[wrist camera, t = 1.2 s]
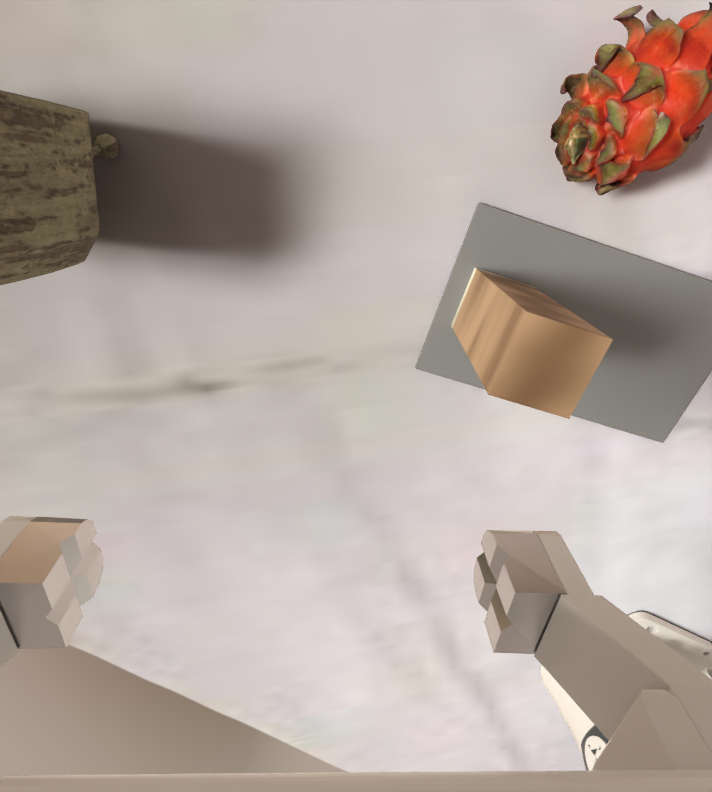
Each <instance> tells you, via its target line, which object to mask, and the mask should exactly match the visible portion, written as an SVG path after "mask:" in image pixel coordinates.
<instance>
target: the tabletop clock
mask: <svg viewBox="0 0 712 792" xmlns="http://www.w3.org/2000/svg"><path fill="white" fill-rule="evenodd" d="M119 150H120V148H119V144H118V141H117V140H116V139H115V138H114V137H113V136H111V135H109V134H101V135H98V136H97V138H96V140H95V146H93V147H92V145H91V135H90V125H89V115H88V113H87V112H85V111H82V110H79V109H75V108H72V107H68V106H64V105H60V104H56V103H52V102H48V101H44V100H40V99H35V98H31V97H27V96H22V95H18V94H14V93H9V92H5V91H1V90H0V285H3V284H8V283H13V282H17V281H21V280H25V279H29V278H32V277H36V276H40V275H44V274H48V273H52V272H55V271H58V270H61V269H64V268H67V267H70V266H73V265H76V264H79V263H81V262H83V261H85V259H86V258H87V256H88V254H89V252H90V250H91V248H92V246H93V244H94V242H95V240H96V238H97V236H98V234H99V232H100V225H99V215H98V205H97V195H96V185H95V175H94V165H93V158H94V157H95V156H97V155H99V154H100V155H101V156H103V157H105V158H108V159H110V158H115V157H117V155H118V153H119Z"/></svg>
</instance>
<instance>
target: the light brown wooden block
mask: <svg viewBox="0 0 712 792" xmlns="http://www.w3.org/2000/svg"><path fill="white" fill-rule="evenodd" d="M451 326H452V328H453V330H454V332H455V334H456V336H457V337H458V339H459V341H460V343H461V345H462V347H463V349H464V350H465V352H466V354H467V356H468V358H469V360H470V361H471V363H472V365H473V367H474V369H475V371H476V373H477V374H478V376H479V378H480V380H481V382H482V384H483V385H484V387H485V389H486V391H487V393H488V395H491V396H495V397H498V398H501V399H505V400H508V401H511V402H515V403H518V404H521V405H525V406H528V407H531V408H535V409H538V410H541V411H545V412H548V413H551V414H555V415H558V416H562V417H565V418H568V419H569V418H570V416H571V414H572V412H573V411H574V409H575V407H576V405H577V403H578V402H579V400H580V398H581V396H582V394H583V393H584V391H585V389H586V387H587V386H588V384H589V382H590V380H591V378H592V377H593V375H594V373H595V371H596V369H597V368H598V366H599V364H600V362H601V360H602V359H603V357H604V355H605V353H606V351H607V350H608V348H609V346H610V344H611V342H612V341H613V339H612V338H610V337H609V336H607V335H606V334H604V333H603V332H601V331H600V330H598V329H597V328H595V327H594V326H592V325H591V324H589V323H588V322H586V321H585V320H583V319H581V318H580V317H578V316H577V315H575V314H574V313H572V312H571V311H569V310H568V309H566V308H565V307H563V306H562V305H560V304H559V303H557V302H556V301H554V300H553V299H551V298H550V297H548V296H547V295H545V294H544V293H542V292H541V291H539V290H538V289H536V288H535V287H533V286H531V285H527V284H524V283H521V282H518V281H515V280H512V279H509V278H506V277H503V276H500V275H497V274H494V273H491V272H488V271H484V270H481V269H478V268H474V270H473V273H472V275H471V278H470V280H469V283H468V285H467V288H466V290H465V293H464V295H463V298H462V300H461V302H460V305H459V307H458V310H457V312H456V315H455V317H454V320H453V322H452V325H451Z"/></svg>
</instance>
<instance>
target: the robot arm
mask: <svg viewBox="0 0 712 792" xmlns="http://www.w3.org/2000/svg"><path fill="white" fill-rule="evenodd" d="M95 535H96V530H95V527H94V524H93V521H91V520H87V519H70V518H51V517H22V516H10V517H8V518H6V519H4V520H3V521H2V522H1V523H0V668H1V667H2V666H3V665H4V664H5V663H6V662H8V661H9V660H10V659H11V658H12V657H13V656H14V655H16V654H17V653H18V652H19V650H18V649H41V648H43V649H48V648H67V646H68V644H69V642H70V640H71V638H72V636H73V634H74V632H75V630H76V629H77V627H78V625H79V623H80V621H81V619H82V617H83V615H82V612H81V609H80V606H81V605H82V604H83V603H85V602H86V601H88V600H89V599H90V598H92V597H93V596H94V594H95V591H96V589H97V587H98V585H99V583H100V579H101V575H102V571H103V556H102V552H101V549H100V548H99V547H98V546H97V545H95V544H94V543H93V542H92V540H93V539H94V537H95ZM481 544H482V547H483V550H484V553H482V554H481V555H480V556H479V557H477V560H476V564H475V568H474V585H475V592H476V595H477V599H478V602H479V604H480V605H481V606H482V607H483V608H484V609H486V610H487V611H488V612H487V615H486V619H485V622H484V623H485V626H486V629H487V632H488V635H489V639H490V642H491V645H492V648H493V652H497V653H523V654H535V657H536V659H537V660H538V661H539V662H540V663H541V664H542V667H541V678H542V681H543V683H544V685H545V687H546V688H547V690H548V691H549V693H550V694H551V696H552V698H553V699H554V701H555V703H556V704H557V706H558V709H559V711H560V713H561V715H562V717H563V719H564V720H565V721H566V723H567V725H568V727H569V729H570V731H571V733H572V735H573V737H574V739H575V741H576V743H577V745H578V748H579V750H580V752H581V754H582V756H583V758H584V763H585V767H586V771H481V772H356V773H238V774H237V773H236V774H233V773H232V774H130V775H129V774H128V775H127V774H125V775H123V774H122V775H16V776H15V775H14V776H13V775H12V776H0V792H712V643H711V642H709V641H707V640H704V639H702V638H700V637H698V636H696V635H694V634H692V633H689V632H687V631H685V630H683V629H681V628H679V627H677V626H674V625H672V624H670V623H668V622H666V621H664V620H661V619H659V618H657V617H655V616H653V615H651V614H649V613H646V612H636V613H633V614H630V615H626V614H625V613H624V612H622V611H621V610H620V609H618V608H617V607H616V606H615V605H613V604H612V603H611V602H609V601H608V600H607V599H605V598H604V597H603V596H599V595H594V594H593V592H592V590H591V588H590V587H589V585H588V583H587V581H586V579H585V578H584V576H583V574H582V572H581V571H580V569H579V567H578V565H577V563H576V562H575V560H574V558H573V556H572V554H571V553H570V551H569V549H568V547H567V546H566V544H565V542H564V540H563V538H562V537H561V535H560V534H559V533H557V532H556V531H503V530H487V531H486V532H485V534H484V535H483V539H482V542H481Z"/></svg>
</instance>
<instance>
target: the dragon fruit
mask: <svg viewBox="0 0 712 792" xmlns="http://www.w3.org/2000/svg"><path fill="white" fill-rule="evenodd" d="M709 4H710V9H709V10H702V11H698V12H695V13H691V14H689V15H687V16H685V17H683V18H682V19H681V21H680V22H679V23H678V25H677V24H675V22H673V21H672V20H671V19H669V18H668V19H667V20H665V21H663V20H661V19H660V18H659V17H658V16H657V14H656V13H655V12H654V10H653V9H652V10H651V11H650V12H649V13H648V14H647V17H646V19H647V21H648V23H649V24H650V25H651V26H654V28H652V29H651V30H650V31H649V32H648V33H647V34H646V32H645V29H644V25H643V23H642V21H641V20H640V19H638V18H636V17H634V15H635V14H637V13H638V12H639V11H640V10H641V9H642V8H643V7H642V6H641V5H639V6H635V7H632V8H629V9H627V10H625V11H623V12H622V13H620V14H619V15H618V16H616V17H615V18H614V20H618V21H619V22H621V23H623V25H624V27H626V28H627V30H628V41H627V44H626V48H624V47H623V46H621V45H618V44H609V45H607V44H605V45H602V46H601V47H600V48H599V49H598V51H597V53H596V55H595V63H596V64H597V65H595V66H593V67H592V68H591V70H590V71H589V73H588V74H584V73H581V74H576V75H574V74H573V75H569V76H568V77H566V78H565V81H564V83H563V84H562V86H561V91H560V93H561V94H565V93H566V92H568V93H569V95H570V97H571V99H572V100H571V101H567V102H566V103H565V105H564V106H563V108H562V112H561V115H560V116H559V118H558V119H557V120H556V122H555V123H554V124H553V125H552V129H551V139H552V140H553V141H554V142H557V143H558V145H557V147H556V150H555V154H556V157H557V159H558V160H559V161H560V163H561V165H562V166H563V171H564V175H565V176H566V179H567V181H574V182H583V181H589V180H591V179H592V178H594V177H596V178H597V184H596V186H595V190H596V191H597V193H598V195H603V194H605V193H607V192H609V191H611V190H614V189H617V188H619V187H622V186H626V185H628V184H630V183H632V182H633V181H634V180H635V178H636V177H637V175H638V174H639V173H641V172H643V171H655V170H658V169H661V168H664V167H666V166H668V165H670V164H672V163H673V162H675V161H676V160H677V159H678V158H679V157H680V156H681V155H682V154H683V153H684V152H685V150H686V149H687V148H688V146H689V145H690V144H691V143H692V142H693V141H694V140H696V139H697V138H698V136H699V134H700V132H701V131H702V129H703V127H704V125H702V126H701V127H698V125H699V124H700V123H701V122H702V121H703V120H705V119H706V118H707V117H708V116H709V115H710V114H711V113H712V3H711V2H709Z"/></svg>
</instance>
